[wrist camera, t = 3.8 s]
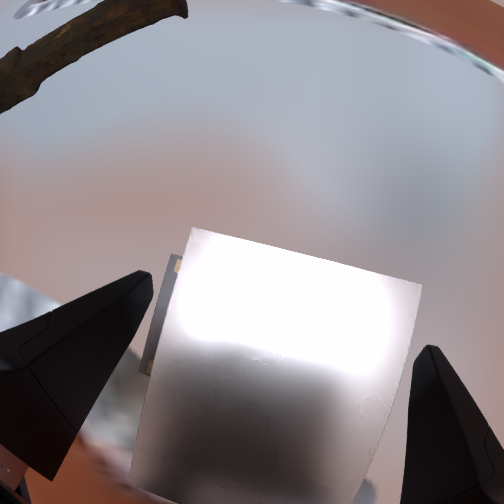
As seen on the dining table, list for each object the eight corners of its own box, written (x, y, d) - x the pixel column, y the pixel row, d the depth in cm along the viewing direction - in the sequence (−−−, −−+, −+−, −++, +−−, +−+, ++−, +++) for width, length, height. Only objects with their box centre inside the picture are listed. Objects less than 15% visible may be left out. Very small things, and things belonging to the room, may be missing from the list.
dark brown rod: (185, -1, 23) (171, -44, 17) (194, 21, 22) (179, -27, 16) (-2, 99, 23) (-30, 73, 18) (-8, 130, 22) (-41, 104, 17)
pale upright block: (336, 307, 14) (422, 285, 5) (305, 415, 13) (333, 537, 4) (248, 285, 14) (192, 227, 5) (218, 392, 13) (127, 482, 4)
